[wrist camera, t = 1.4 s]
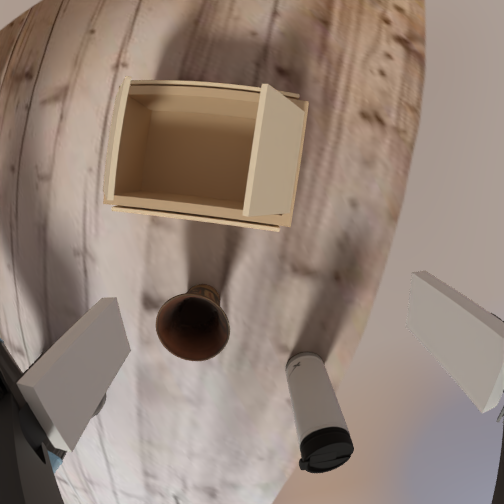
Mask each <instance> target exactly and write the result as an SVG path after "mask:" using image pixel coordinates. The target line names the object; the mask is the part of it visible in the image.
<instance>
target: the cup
mask: <svg viewBox="0 0 504 504" xmlns="http://www.w3.org/2000/svg"><path fill="white" fill-rule="evenodd" d="M156 331H157V335H158V337H159V339H160V341H161V343H162V344H163V346H164V347H165V348H166V349H167V350H168V351H169V352H171V353H172V354H173V355H175V356H177V357H179V358H182V359H185V360H189V361H204V360H208V359H210V358H213V357H215V356H216V355H218V354H219V353H220V352H221V351H222V350H223V349H224V347H225V346H226V344H227V342H228V339H229V335H230V326H229V321H228V318H227V316H226V314H225V313H224V311H223V310H222V308H221V307H220V297H219V294H218V292H217V291H216V290H215V289H214V288H213V287H211V286H209V285H206V284H199V285H196V286H194V287H192V288H191V289H190V290H189V291H188V292H187V293H185V294H180V295H177V296H175V297H173V298H171V299H169V300H168V301H167V302H166V303H165V304H164V305H163V306H162V307H161V309H160V310H159V312H158V315H157V318H156Z"/></svg>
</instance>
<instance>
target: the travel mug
mask: <svg viewBox="0 0 504 504" xmlns="http://www.w3.org/2000/svg"><path fill="white" fill-rule="evenodd" d="M286 376H287V382H288V387H289V392H290V398H291V403H292V409H293V414H294V420H295V426H296V431H297V437H298V443H299V448H300V451H301V457H302V458H301V459H300V461H299V466H300V469H301V470H306V471H308V472H310V473H323V472H328V471H331V470H333V469H335V468H337V467H339V466H341V465H343V464H344V463H345V462H347V461H348V460H349V458H350V457H351V456H350V455H351V454H352V453H353V451H354V447H353V443H352V440H351V438H350V434H349V431H348V428H347V425H346V422H345V419H344V417H343V414H342V411H341V409H340V406H339V403H338V400H337V398H336V395H335V392H334V389H333V387H332V384H331V381H330V379H329V376H328V373H327V371H326V368H325V366H324V363H323V360H322V359H321V357H320V356H318V355H317V354H314V353H310V352H305V353H300V354H297V355H295V356H294V357H292V358H291V359H290V360H289V362H288V363H287V365H286Z"/></svg>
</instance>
